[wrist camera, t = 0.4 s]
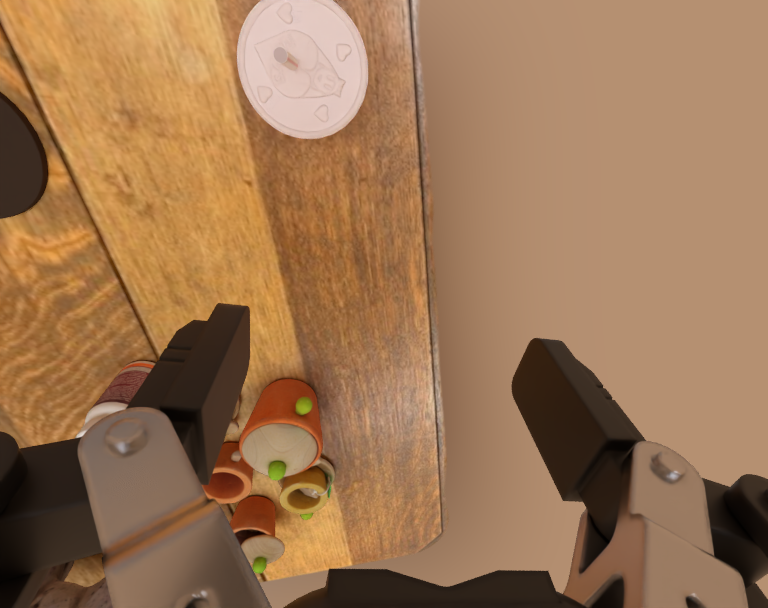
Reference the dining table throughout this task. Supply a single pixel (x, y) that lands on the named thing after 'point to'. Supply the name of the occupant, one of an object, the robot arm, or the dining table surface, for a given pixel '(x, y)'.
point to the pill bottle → (118, 393)
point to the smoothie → (302, 66)
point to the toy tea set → (273, 467)
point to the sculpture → (70, 592)
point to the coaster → (19, 162)
